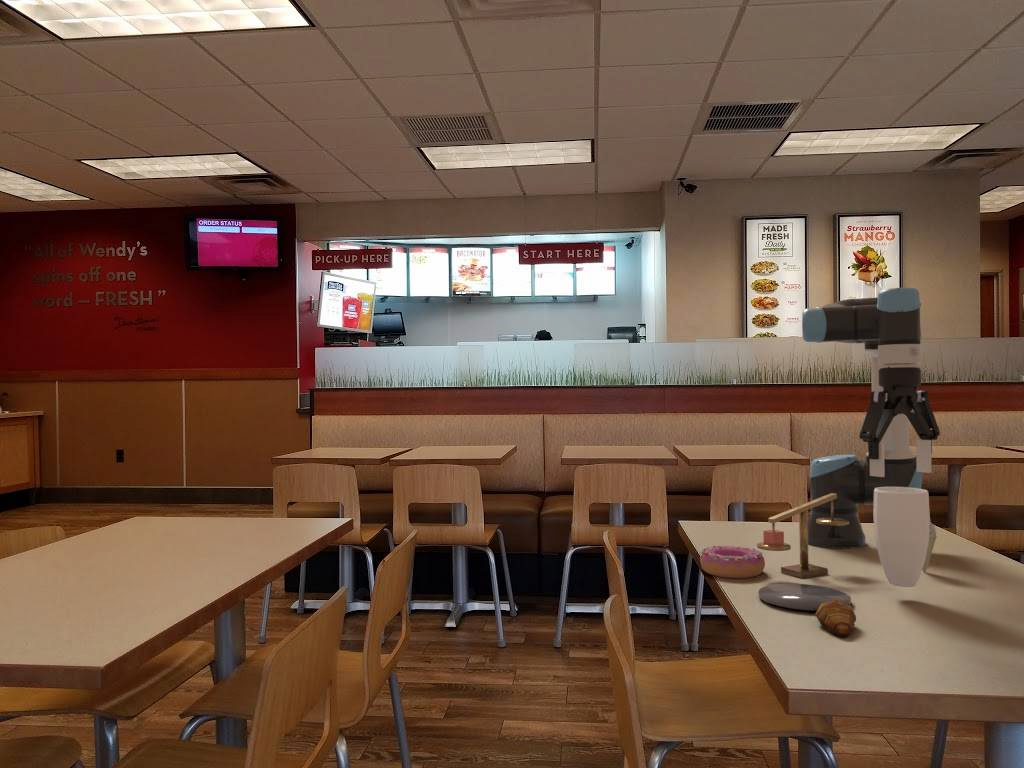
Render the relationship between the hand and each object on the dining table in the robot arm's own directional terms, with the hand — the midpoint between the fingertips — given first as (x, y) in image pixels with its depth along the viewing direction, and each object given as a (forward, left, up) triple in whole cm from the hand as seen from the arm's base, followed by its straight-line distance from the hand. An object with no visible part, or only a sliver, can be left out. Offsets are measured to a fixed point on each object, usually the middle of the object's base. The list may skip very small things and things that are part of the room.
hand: (901, 474), depth 150 cm
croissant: (+6, -25, -25) cm, 36 cm away
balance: (-24, -1, -25) cm, 34 cm away
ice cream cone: (-12, +23, -25) cm, 36 cm away
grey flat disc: (-8, -18, -25) cm, 32 cm away
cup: (0, 0, -25) cm, 25 cm away
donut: (-33, -14, -25) cm, 44 cm away
